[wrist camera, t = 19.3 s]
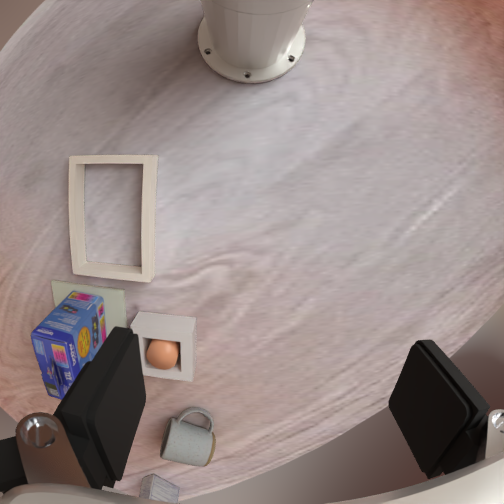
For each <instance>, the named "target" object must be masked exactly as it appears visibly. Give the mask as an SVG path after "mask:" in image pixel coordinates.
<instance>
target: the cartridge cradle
mask: <svg viewBox="0 0 504 504" xmlns="http://www.w3.org/2000/svg"><path fill="white" fill-rule="evenodd" d="M85 164H144V165H143V185H142V222H141V249H142V267H139V266H129V265H118V264H109V263H99V262H89V261H87V258H86V243H85V218H84V178H85ZM157 169H158V155H84V156H69V230H70V246H71V259H72V269H73V274H77V275H85V276H93V277H102V278H110V279H119V280H128V281H137V282H147V283H150V282H151V281H152V279H153V278H154V276H155V214H156V188H157Z"/></svg>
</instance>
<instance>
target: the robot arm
mask: <svg viewBox="0 0 504 504" xmlns="http://www.w3.org/2000/svg"><path fill="white" fill-rule="evenodd" d="M312 2H313V0H201V4H202V8H203V12H204V15H205V16H204V18H203V19H202V21H201V23H200V26H199V29H198V38H197V41H198V46H199V50H200V52H201V55H202V57H203V58H204V60H205V62H206V63H207V64H208V65H209V66H210V67H211V68H212V69H213V70H214V71H215V72H217V73H218V74H220V75H221V76H224V77H226V78H228V79H230V80H234V81H237V82H243V83H262V82H267V81H271V80H273V79H276V78H279V77H281V76H282V75H284V74H286V73H287V72H288V71H290V70H291V69H292V68H293V67H294V66H295V65H296V63H297V62H298V61H299V59H300V57H301V55H302V54H303V51H304V48H305V41H306V36H305V30H304V27H303V24H302V23H303V20H304V18H305V16H306V14H307V12H308V10H309V8H310V6H311V4H312ZM208 52H210V54H209V55H207V53H208ZM289 59H291V60H292V62H290V61H288V60H289ZM246 75H249V78H245V76H246ZM145 402H146V392H145V385H144V379H143V371H142V363H141V355H140V346H139V337H138V334H135V333H133V330H132V329H131V328H124V327H118V326H115V327H114V328H113V329H112V331H111V332H110V334H109V335H108V337H107V338H106V340H105V341H104V343H103V344H102V346H101V347H100V349H99V350H98V352H97V353H96V355H95V356H94V358H93V360H92V361H88V362H86V363H85V364H84V366H83V368H82V369H81V371H80V372H79V374H78V375H77V377H76V378H75V380H74V382H73V383H72V385H71V386H70V388H69V389H68V391H67V393H66V394H65V396H64V398H63V399H62V401H61V402H60V404H59V406H58V407H57V409H56V411H55V412H54V414H53V415H51V414H49V413H43V412H38V413H32V414H29V415H27V416H25V417H24V418H23V419H21V421H20V422H19V423H18V425H17V427H16V431H15V432H16V436H15V437H11V438H7V439H3V440H0V504H178V503H170V502H163V501H157V500H151V499H145V498H140V497H134V496H129V495H123V494H118V493H113V492H109V491H104V490H101V489H102V486H107V487H110V488H113V487H114V484H115V481H116V480H117V481H120V480H121V479H122V476H123V473H124V469H125V466H126V463H127V459H128V456H129V453H130V449H131V446H132V443H133V440H134V437H135V434H136V430H137V427H138V424H139V421H140V418H141V415H142V412H143V409H144V406H145ZM389 408H390V410H391V412H392V414H393V416H394V418H395V420H396V422H397V424H398V426H399V428H400V429H401V431H402V433H403V435H404V437H405V439H406V441H407V443H408V445H409V447H410V449H411V451H412V453H413V455H414V457H415V459H416V461H417V463H418V465H419V467H420V469H421V471H422V472H424V473H425V474H426V476H427V478H428V479H430V478H433V477H436V476H439V475H440V474H441V473H442V472H444V474H445V475H444V476H441V477H438V478H436V479H433V480H430V481H426V482H423V483H420V484H417V485H413V486H410V487H406V488H403V489H399V490H395V491H391V492H387V493H383V494H378V495H374V496H369V497H364V498H360V499H354V500H348V501H341V502H335V503H328V504H504V410H494V411H492V412H491V413H490V415H489V416H488V417H487V415H486V412H487V411H488V409H489V408H490V406H489V404H488V403H487V402H486V401H485V400H484V398H483V397H482V396H481V395H480V394H479V392H478V391H477V390H476V389H475V388H474V386H473V385H472V384H471V383H470V382H469V381H468V380H467V378H466V377H465V376H464V375H463V374H462V373H461V372H460V370H459V369H458V368H457V367H456V366H455V365H454V363H452V361H451V360H450V359H449V358H448V357H447V356H446V354H445V353H444V352H443V351H442V350H441V349H440V348H439V347H438V346H437V345H436V343H435V342H434V341H432V340H418V341H416V343H415V344H414V345H412V347H411V349H410V351H409V354H408V356H407V359H406V361H405V364H404V366H403V369H402V371H401V374H400V376H399V378H398V381H397V383H396V385H395V388H394V390H393V392H392V394H391V397H390V399H389Z"/></svg>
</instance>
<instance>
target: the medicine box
mask: <svg viewBox="0 0 504 504" xmlns="http://www.w3.org/2000/svg"><path fill="white" fill-rule="evenodd" d="M179 490H180V488H179V487H177V486H175V485H173V484H171V483H169V482H167V481H165V480H164V479H162V478H160V477H158V476H156V475H155V474H152V475H149V476H147V477H144V478H143V480H142V485H141V489H140V494H139V497H140V498H145V499H151V500H157V501H163V502H170V503H178V497H179Z"/></svg>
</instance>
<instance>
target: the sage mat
mask: <svg viewBox="0 0 504 504" xmlns="http://www.w3.org/2000/svg"><path fill="white" fill-rule="evenodd" d="M51 285H52V291H53V297H54V303H55V308H56V307H57V306H58V305H59V304H60V303H61V302H62V301H63V300H64V299H65V298H66V297H67V296H68V295H69V294H70V293H71V292H72V291H79V292H83V293H88V294H93V295H98V296H101V297H103V299H104V308H105V321H106V332H107V337H108V335H109V334H110V332H111V331H112V329H113V328H114V327H115V326H118V327H124V328H127V318H126V307H125V295H124V289H115V288H107V287H99V286H92V285H84V284H77V283H70V282H63V281H56V280H52V281H51Z"/></svg>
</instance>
